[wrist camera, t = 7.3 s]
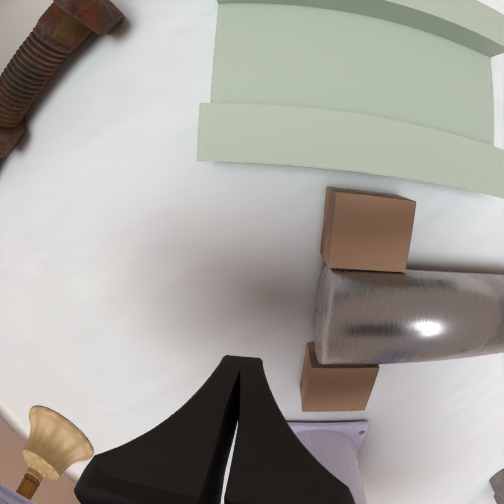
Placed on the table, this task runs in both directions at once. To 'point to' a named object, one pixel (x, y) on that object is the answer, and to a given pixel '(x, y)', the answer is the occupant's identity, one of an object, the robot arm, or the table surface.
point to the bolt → (47, 58)
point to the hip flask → (498, 486)
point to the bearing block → (361, 258)
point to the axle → (407, 316)
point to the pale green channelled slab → (358, 88)
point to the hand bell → (51, 448)
